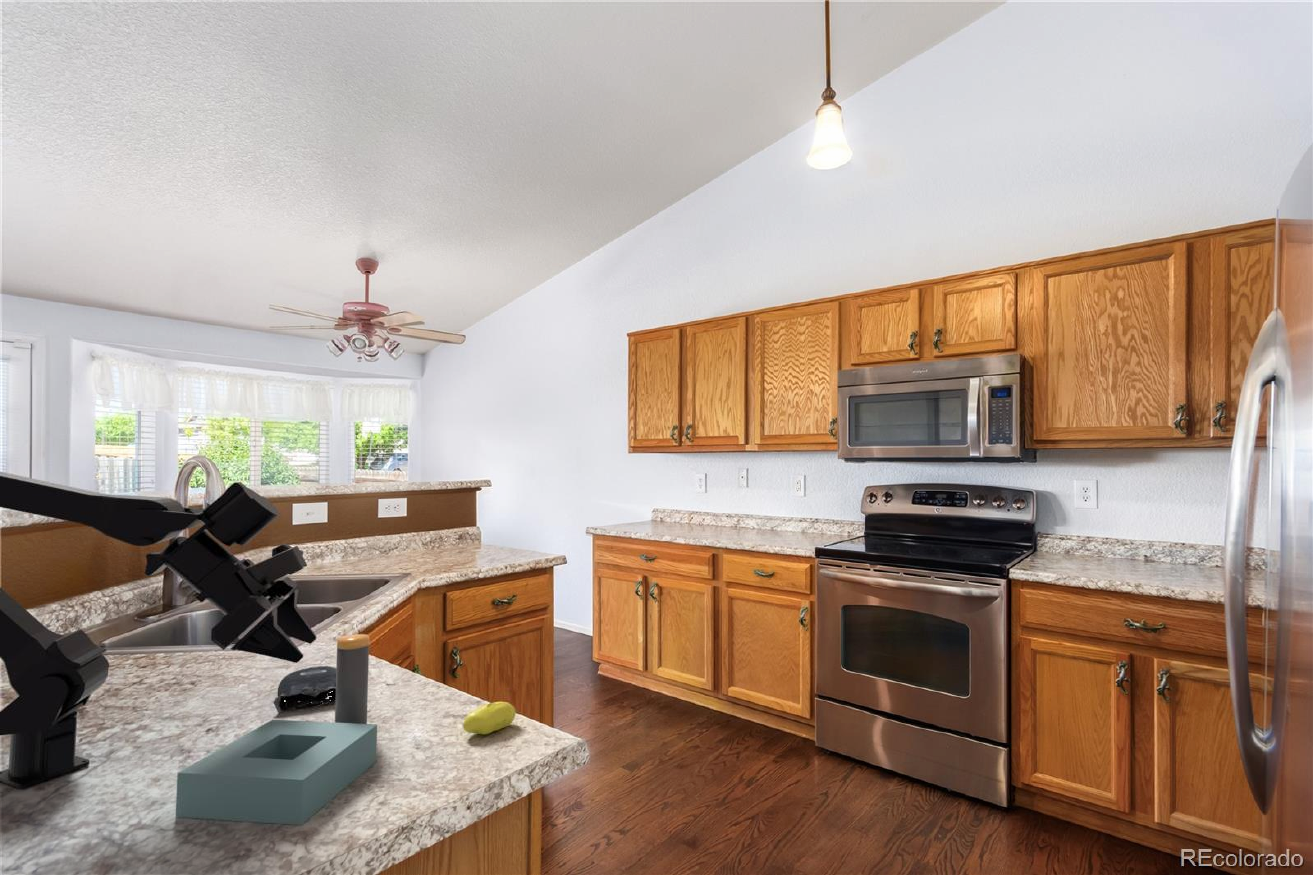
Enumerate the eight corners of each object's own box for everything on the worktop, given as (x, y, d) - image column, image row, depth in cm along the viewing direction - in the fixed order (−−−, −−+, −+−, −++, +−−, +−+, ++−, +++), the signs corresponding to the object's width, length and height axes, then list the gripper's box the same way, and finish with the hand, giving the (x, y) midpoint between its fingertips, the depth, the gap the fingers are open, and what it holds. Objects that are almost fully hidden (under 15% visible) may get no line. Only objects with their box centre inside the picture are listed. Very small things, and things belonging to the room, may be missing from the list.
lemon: (522, 728, 88) (522, 700, 88) (469, 745, 83) (469, 715, 83) (507, 719, 91) (508, 692, 91) (455, 735, 86) (455, 706, 86)
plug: (327, 737, 84) (330, 640, 85) (351, 726, 88) (354, 633, 89) (349, 742, 83) (352, 643, 84) (373, 730, 87) (375, 636, 87)
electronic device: (345, 714, 97) (344, 672, 110) (341, 681, 96) (340, 643, 109) (275, 733, 93) (283, 687, 106) (270, 698, 92) (279, 657, 105)
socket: (175, 817, 65) (177, 772, 65) (271, 755, 79) (272, 719, 79) (301, 825, 64) (302, 779, 64) (376, 761, 78) (377, 724, 78)
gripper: (245, 533, 75) (345, 619, 78) (282, 521, 92) (362, 591, 95) (164, 604, 72) (271, 691, 75) (218, 578, 89) (303, 648, 92)
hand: (307, 649), depth 84 cm, fingers open, 9 cm apart
